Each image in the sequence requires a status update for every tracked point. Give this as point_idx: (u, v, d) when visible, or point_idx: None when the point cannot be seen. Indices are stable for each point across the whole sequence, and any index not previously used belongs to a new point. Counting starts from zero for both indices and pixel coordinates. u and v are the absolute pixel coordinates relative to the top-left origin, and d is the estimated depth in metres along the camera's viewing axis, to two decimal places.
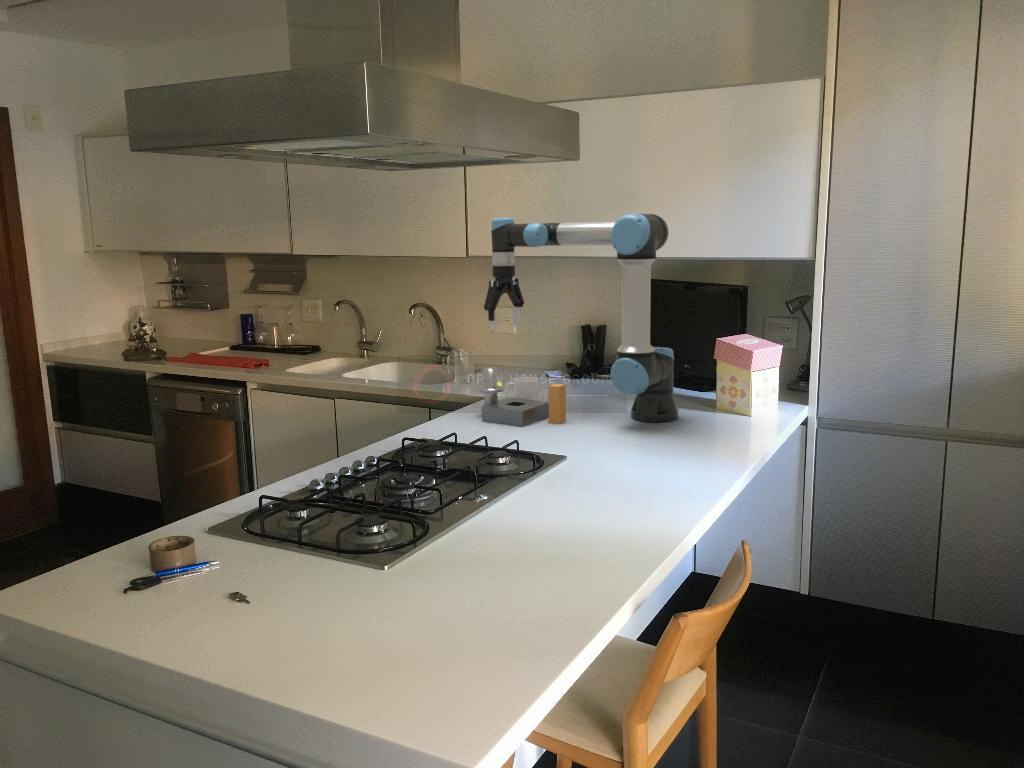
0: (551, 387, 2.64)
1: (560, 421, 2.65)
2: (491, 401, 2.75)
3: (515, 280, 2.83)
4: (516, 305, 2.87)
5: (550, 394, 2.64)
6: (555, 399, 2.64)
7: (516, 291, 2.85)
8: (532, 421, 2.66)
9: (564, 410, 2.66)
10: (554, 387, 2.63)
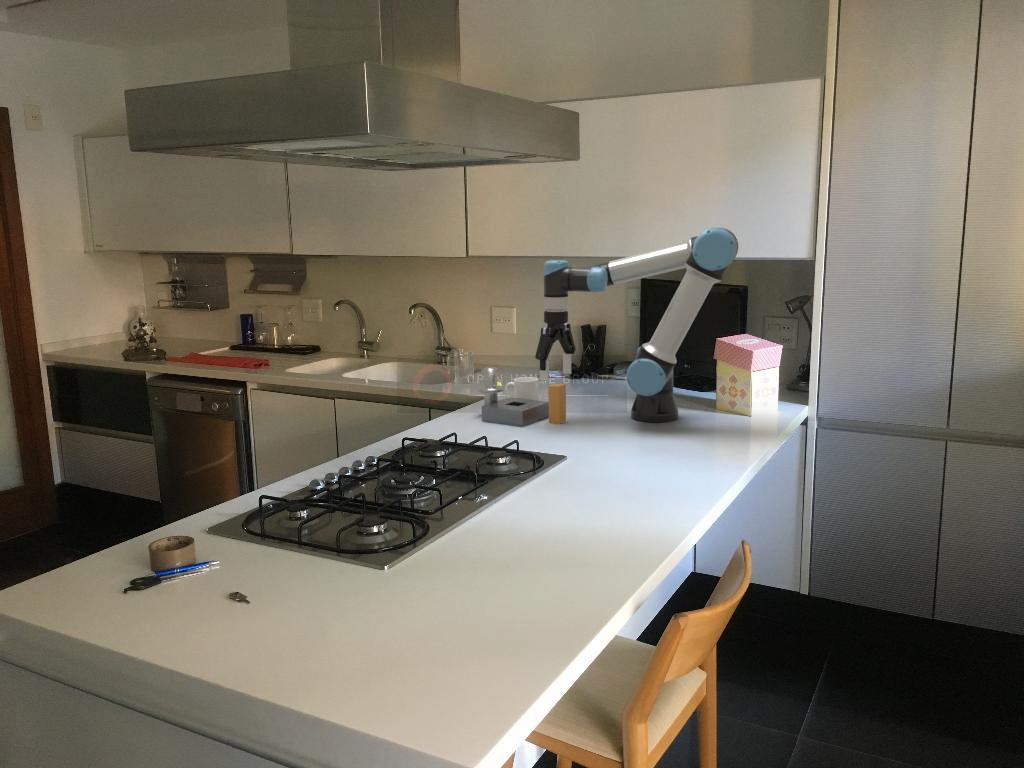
0: (551, 387, 2.64)
1: (560, 421, 2.65)
2: (491, 401, 2.75)
3: (567, 326, 2.65)
4: (567, 352, 2.69)
5: (550, 394, 2.64)
6: (555, 399, 2.64)
7: (567, 337, 2.68)
8: (532, 421, 2.66)
9: (564, 410, 2.66)
10: (554, 387, 2.63)
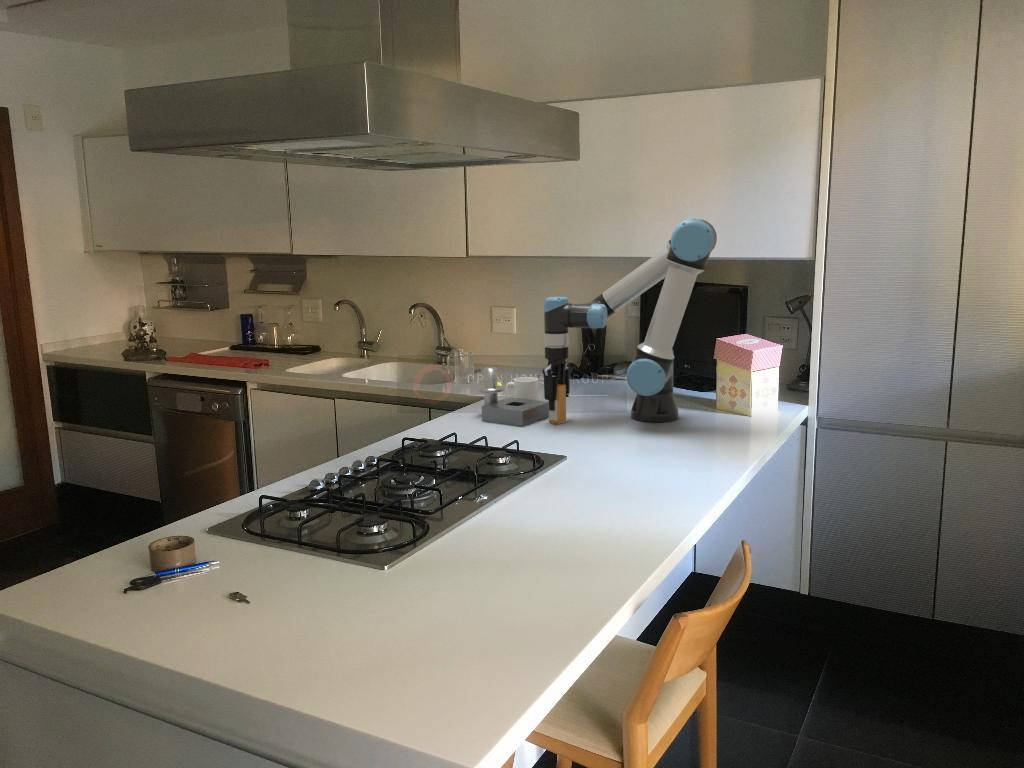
0: None
1: (560, 421, 2.65)
2: (491, 401, 2.75)
3: (567, 365, 2.68)
4: None
5: None
6: None
7: (565, 377, 2.68)
8: (532, 421, 2.66)
9: (564, 410, 2.66)
10: None
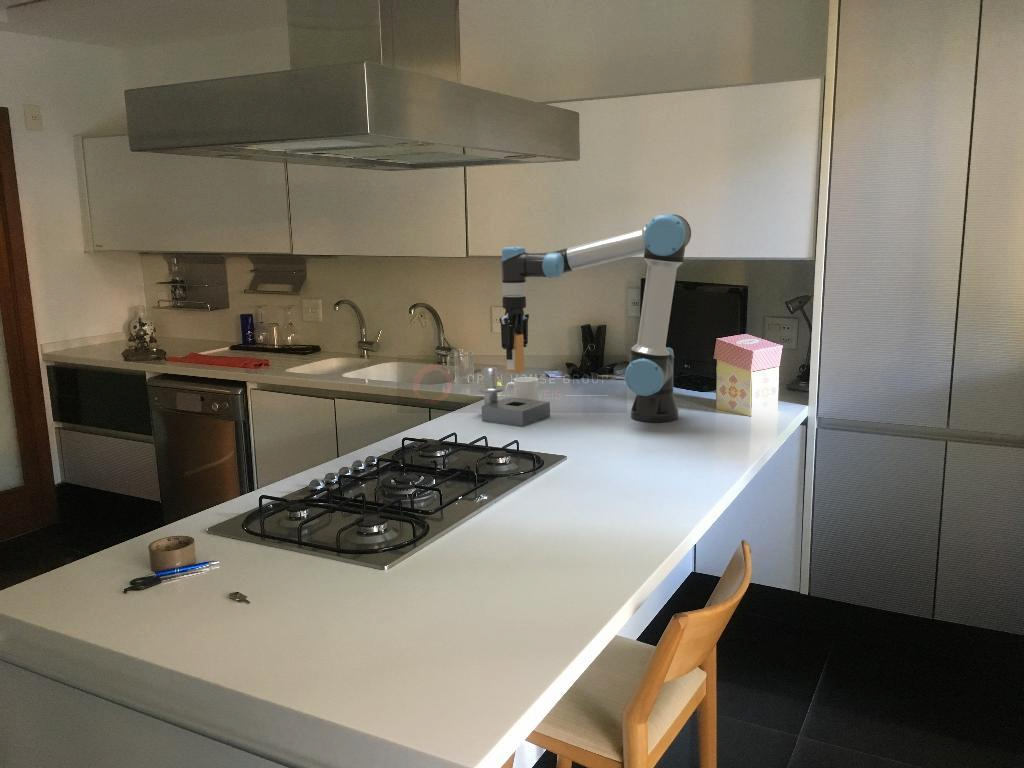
0: None
1: (518, 370, 2.67)
2: (491, 401, 2.75)
3: (526, 315, 2.70)
4: None
5: None
6: None
7: (523, 328, 2.71)
8: (532, 421, 2.66)
9: (522, 360, 2.69)
10: None
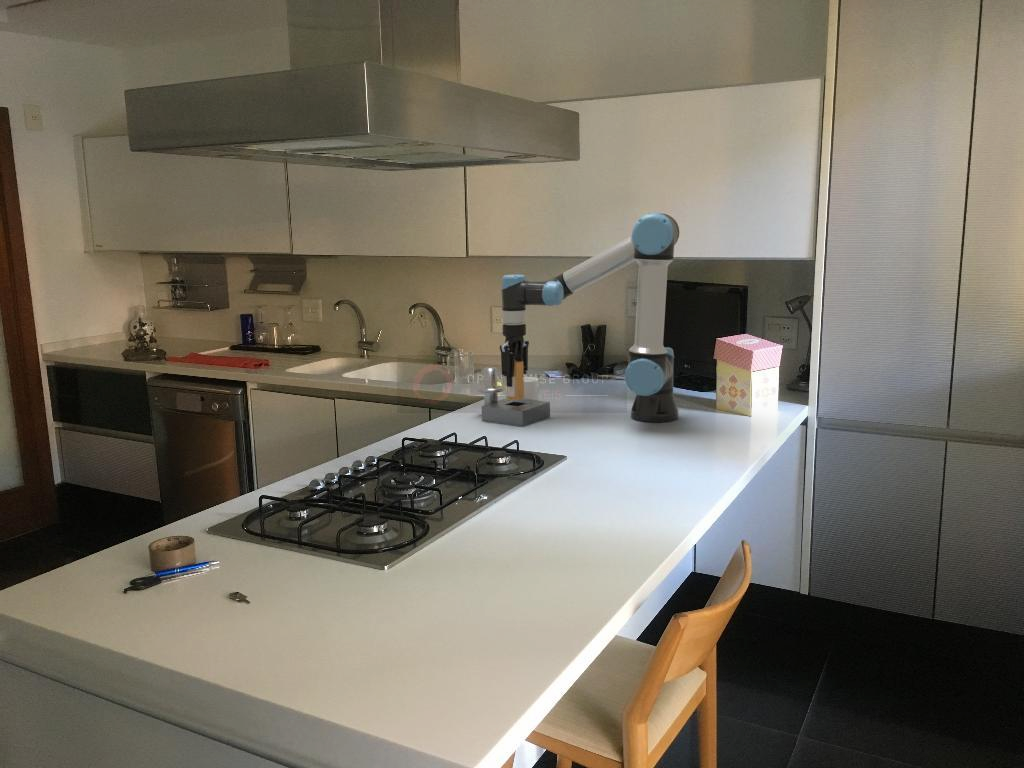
0: None
1: (518, 397, 2.69)
2: (491, 401, 2.75)
3: (526, 342, 2.72)
4: None
5: None
6: None
7: (523, 354, 2.72)
8: (532, 421, 2.66)
9: (522, 386, 2.70)
10: None
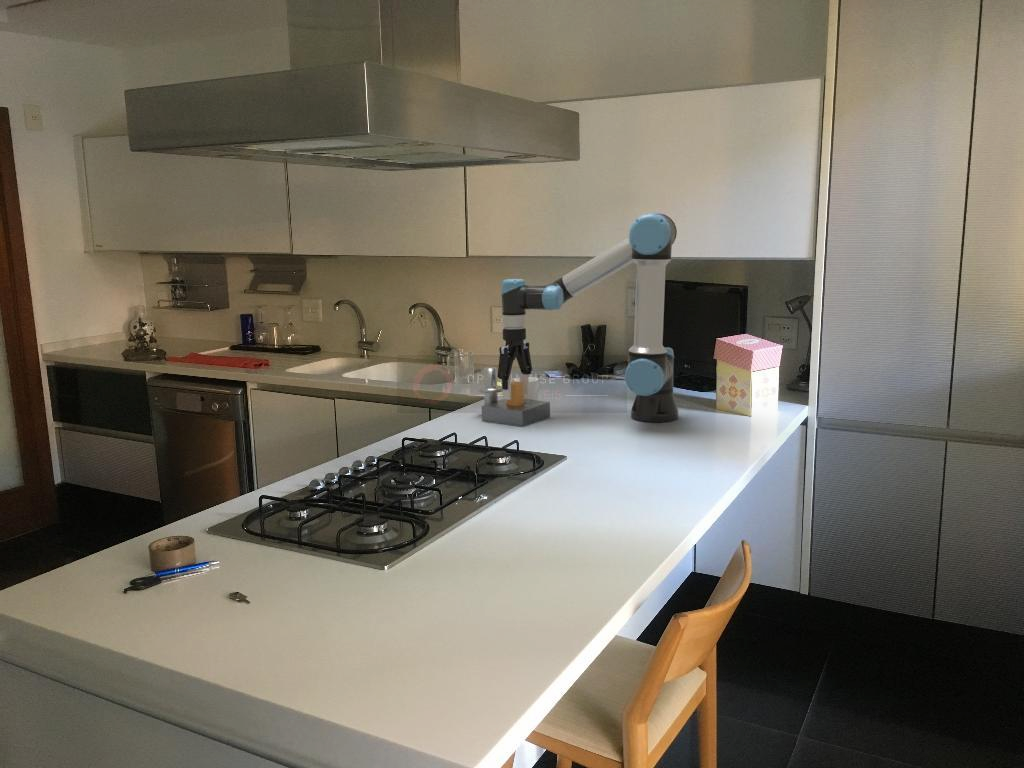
0: None
1: None
2: (491, 401, 2.75)
3: (526, 344, 2.72)
4: (524, 372, 2.74)
5: None
6: (512, 397, 2.69)
7: (525, 356, 2.73)
8: (532, 421, 2.66)
9: None
10: (511, 385, 2.68)
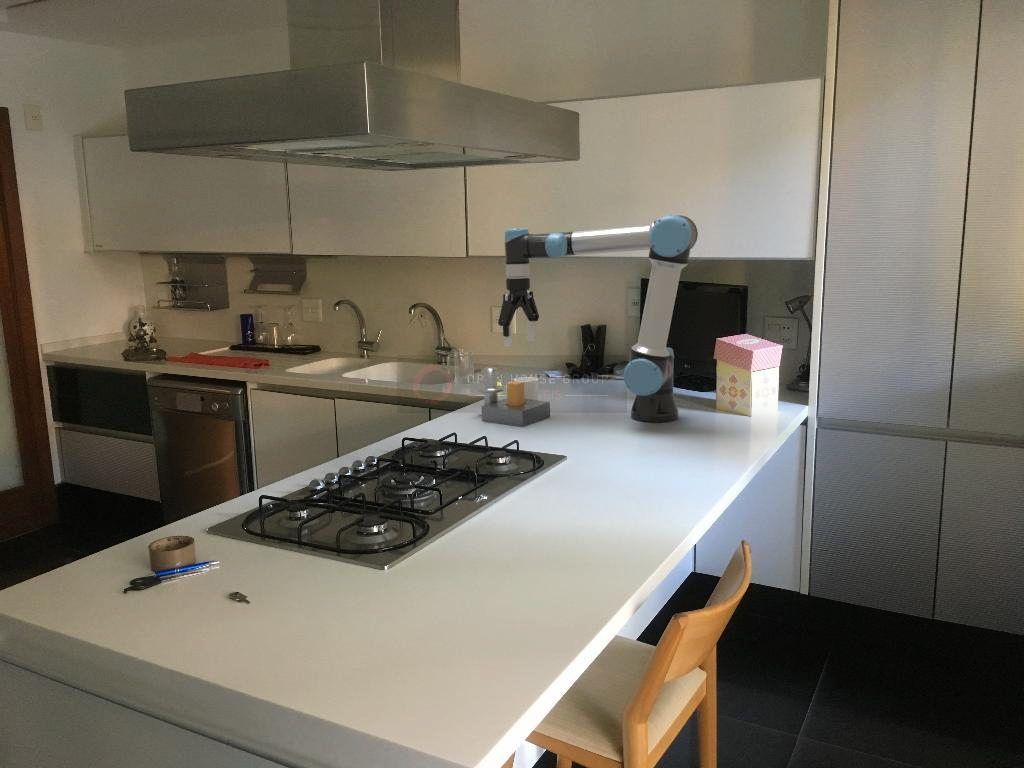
0: (509, 385, 2.69)
1: None
2: (491, 401, 2.75)
3: (530, 293, 2.70)
4: (531, 319, 2.73)
5: (509, 391, 2.70)
6: (513, 397, 2.69)
7: (530, 305, 2.72)
8: (532, 421, 2.66)
9: None
10: (512, 385, 2.69)
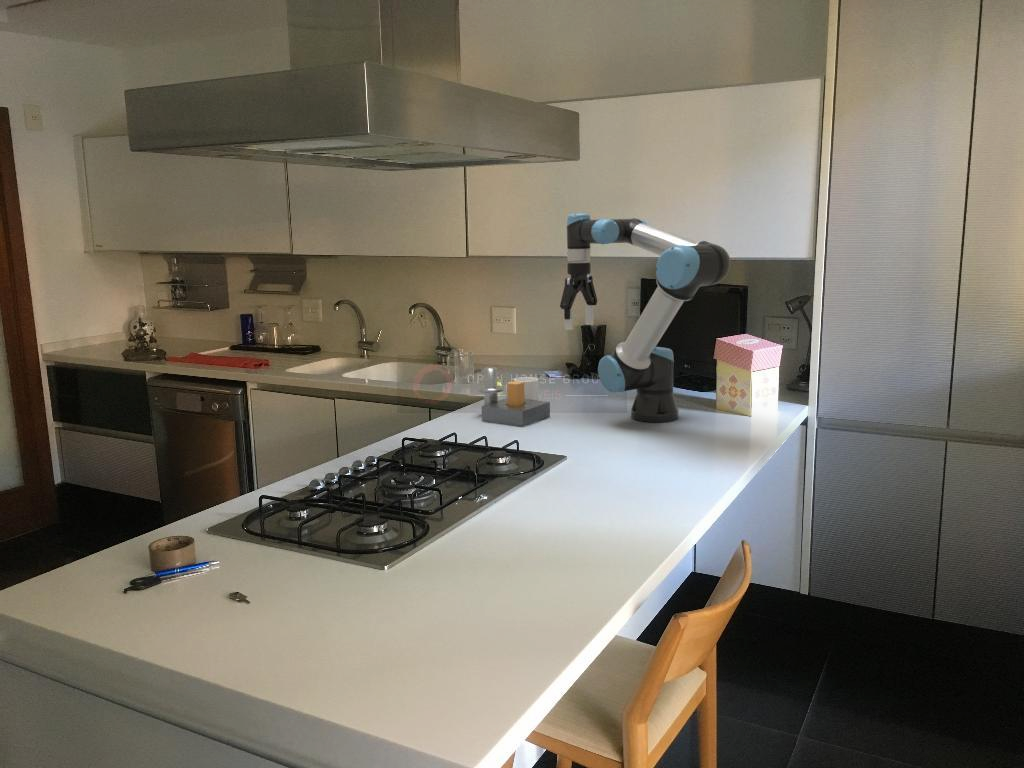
0: (509, 385, 2.69)
1: None
2: (491, 401, 2.75)
3: (589, 278, 2.76)
4: (589, 303, 2.80)
5: (509, 391, 2.70)
6: (513, 397, 2.69)
7: (589, 289, 2.78)
8: (532, 421, 2.66)
9: None
10: (512, 385, 2.69)
